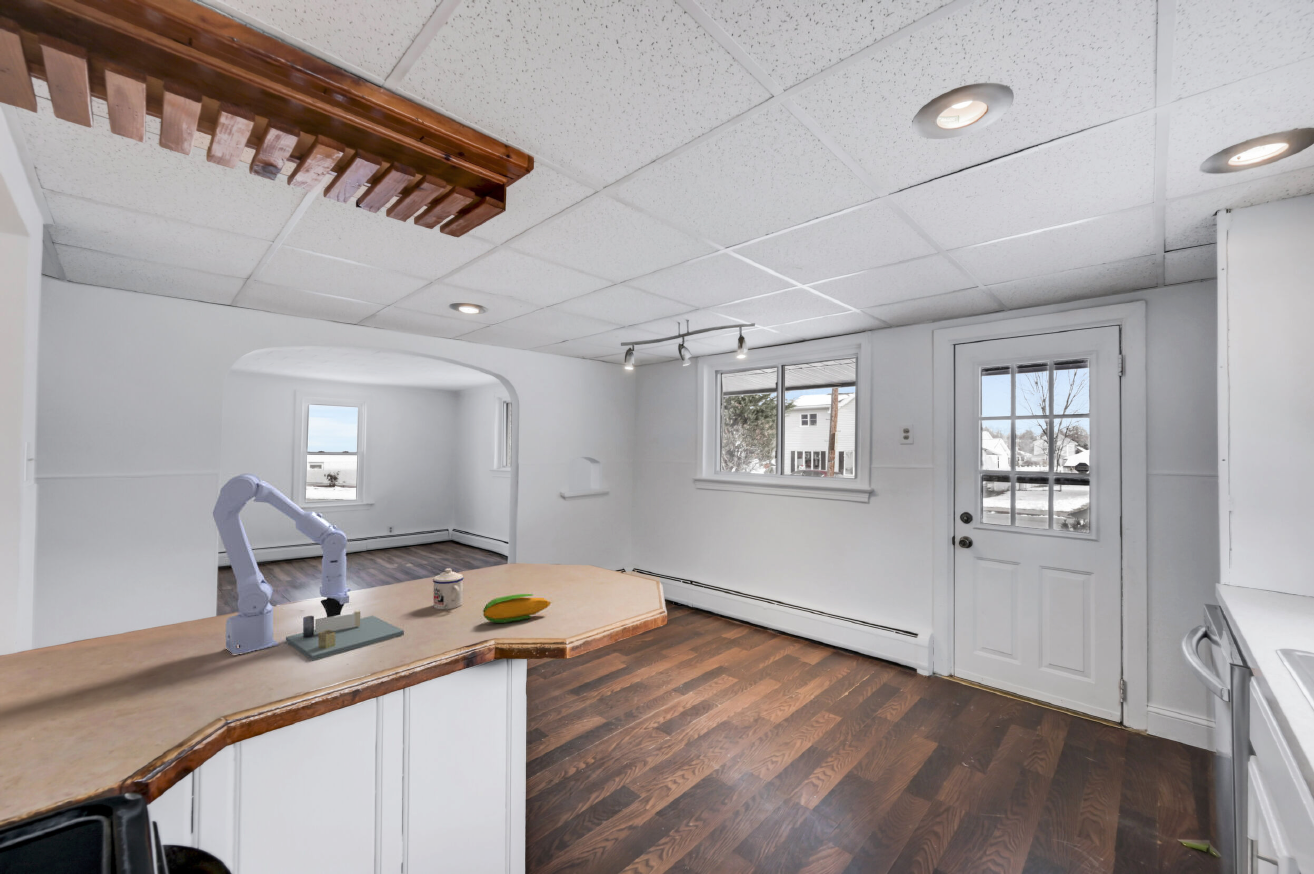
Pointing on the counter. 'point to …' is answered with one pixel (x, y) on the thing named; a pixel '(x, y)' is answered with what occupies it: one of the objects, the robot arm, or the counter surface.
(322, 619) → the gate
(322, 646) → the gate posts
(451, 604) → the teacup with lid
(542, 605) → the corn
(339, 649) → the base board
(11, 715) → the counter surface
